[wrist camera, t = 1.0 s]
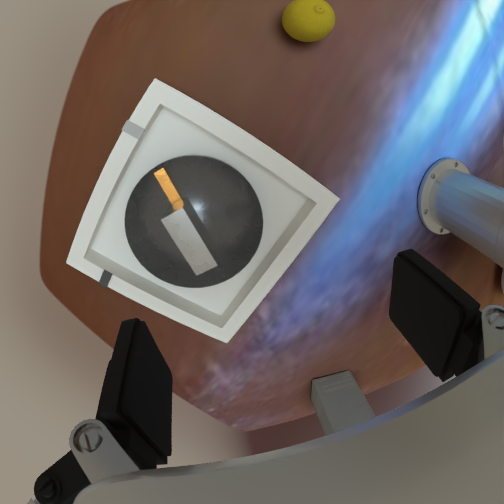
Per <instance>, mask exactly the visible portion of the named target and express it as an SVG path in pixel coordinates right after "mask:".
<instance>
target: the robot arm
mask: <svg viewBox="0 0 504 504" xmlns="http://www.w3.org/2000/svg"><path fill="white" fill-rule="evenodd" d="M418 211H419V215H420V218H421V220H422V223H423V224H424V225H425V227H426V228H428V229H429V230H430V231H432V232H433V233H436V234H447V233H450V232H451V233H452V234H454V235H456V236H457V237H459V238H460V239H462V240H463V241H465V242H466V243H468V244H469V245H471V246H472V247H474V248H475V249H477V250H478V251H480V252H481V253H482V254H484V255H485V256H487V257H488V258H489V259H491V260H492V261H494V262H495V263H496V264H498V265H499V266H501V267H502V268H503V269H504V188H502V187H500V186H498V185H495V184H493V183H490V182H488V181H485V180H483V179H480V178H478V177H475V176H473V175H470V173H469V171H468V169H467V167H466V166H465V165H464V164H463V163H462V162H460V161H458V160H456V159H452V158H444V159H441V160H439V161H437V162H436V163H434V164H433V165H432V166H431V167H430V168H429V170H428V171H427V172H426V174H425V176H424V178H423V180H422V183H421V186H420V189H419V194H418ZM479 308H480V304H479V303H478V302H477V301H476V300H475V299H473V298H472V297H471V296H470V295H469V294H468V293H466V292H465V291H464V290H463V289H462V288H461V287H459V286H458V285H457V284H456V283H455V282H453V281H452V280H451V279H450V278H449V277H447V276H446V275H445V274H444V273H442V272H441V271H440V270H439V269H438V268H436V267H435V266H434V265H432V264H431V263H430V262H429V261H427V260H426V259H425V258H424V257H422V256H421V255H420V254H418V253H417V252H416V251H414V250H413V249H408V250H405V251H402V252H399V253H398V254H397V257H395V259H394V265H393V278H392V289H391V299H390V308H389V316H390V319H391V321H392V322H393V323H394V325H395V326H396V327H397V328H398V329H399V331H400V332H401V333H402V334H403V336H404V337H405V338H406V339H407V341H408V342H409V343H410V344H411V346H412V347H413V348H414V350H415V351H416V352H417V353H418V355H419V356H420V357H421V359H422V360H423V361H424V363H425V364H426V365H427V366H428V368H429V369H430V370H431V372H432V373H433V374H434V375H435V376H437V377H438V376H439V378H440V379H441V380H442V382H444V381H446V380H447V379H449V378H451V377H452V376H453V375H454V374H455V376H456V377H455V378H454V379H452V380H450V381H448V382H447V383H445V384H443V385H441V386H439V387H438V388H436V389H434V390H432V391H430V392H428V393H427V394H425V395H423V396H421V397H419V398H417V399H415V400H413V401H411V402H409V403H407V404H405V405H402V406H400V407H398V408H396V409H394V410H392V411H389V412H387V413H385V414H383V415H380V416H378V417H375V418H373V419H371V420H368V421H366V422H363V423H361V424H358V425H355V426H353V427H350V428H347V429H345V430H342V431H339V432H336V433H333V434H330V435H327V436H324V437H321V438H318V439H315V440H311V441H308V442H304V443H301V444H297V445H294V446H290V447H287V448H283V449H278V450H274V451H270V452H266V453H261V454H257V455H252V456H247V457H242V458H236V459H230V460H224V461H218V462H212V463H204V464H197V465H188V466H179V467H167V468H159V469H156V468H157V465H161V464H167V456H171V451H172V448H171V447H172V445H171V423H172V419H171V417H172V374H171V371H170V369H169V367H168V365H167V363H166V362H165V360H164V358H163V356H162V354H161V352H160V350H159V349H158V347H157V345H156V343H155V341H154V339H153V337H152V335H151V333H150V331H149V329H148V327H147V325H146V323H145V322H144V321H140V320H139V319H138V318H134V319H129V320H124V321H122V323H121V326H120V330H119V333H118V337H117V340H116V344H115V347H114V351H113V355H112V359H111V360H110V361H109V364H108V367H107V371H106V375H105V379H104V383H103V387H102V392H101V396H100V400H99V405H98V410H97V414H96V419H88V420H84V421H82V422H80V423H79V424H77V426H75V428H74V429H73V430H72V432H71V435H70V438H69V445H70V448H71V450H70V451H69V452H68V453H67V454H66V455H65V456H63V457H62V458H61V459H60V460H58V461H57V462H56V463H55V464H53V465H52V466H51V467H50V468H48V469H47V470H46V471H45V472H43V473H42V474H41V475H40V476H39V477H38V478H37V480H36V482H35V486H34V494H35V497H36V499H35V500H33V499H30V501H29V502H28V504H504V307H502V306H498V305H491V306H487V307H486V308H485V309H484V310H483V311H482V312H480V311H479Z"/></svg>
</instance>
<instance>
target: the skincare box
mask: <svg viewBox="0 0 504 504" xmlns="http://www.w3.org/2000/svg"><path fill="white" fill-rule="evenodd" d="M311 400H312V403H313V405H314V408H315V410H316V413H317V415H318V418H319V420H320V422H321V425H322V427H323V430H324V433H325V435H326V436H327V435H330V434H333V433H336V432H339V431H342V430H345V429H347V428H350V427H353V426H355V425H358V424H361V423H363V422H366V421H368V420H371V419H373V418H375V417H376V416H375V415H374V413H373V411H372V410H371V408H370V406H369V404H368V402H367V400H366V398H365V397H364V395H363V393H362V391H361V390H360V388H359V386H358V384H357V382H356V381H355V379H354V377H353V375H352V374H351V372H350V370H347V371H344V372H340V373H337V374H333V375H329V376H325V377H321V378H318V379H313V380H312V391H311Z"/></svg>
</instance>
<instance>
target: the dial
mask: <svg viewBox="0 0 504 504" xmlns="http://www.w3.org/2000/svg"><path fill="white" fill-rule="evenodd" d="M125 232H126V237H127V240H128V244H129V246H130V248H131V250H132V252H133V254H134V255H135V257H136V259H137V260H138V261H139V262H140V264H141V265H142V266H143V267H144V268H145V269H146V270H147V271H148V272H150V273H151V274H152V275H154V276H155V277H157V278H159V279H160V280H162V281H165V282H167V283H169V284H172V285H176V286H180V287H186V288H203V287H209V286H213V285H217V284H220V283H222V282H225V281H227V280H228V279H230V278H232V277H234V276H235V275H236V274H238V273H239V272H240V271H241V270H242V269H244V268H245V267H246V266H247V264H248V263H249V262H250V261H251V259H252V258H253V256H254V255H255V253H256V251H257V249H258V247H259V244H260V241H261V238H262V232H263V214H262V209H261V205H260V202H259V199H258V197H257V194H256V193H255V191H254V189H253V188H252V186H251V184H250V183H249V182H248V180H247V179H246V178H245V177H244V176H243V175H242V174H241V173H240V172H239V171H238V170H237V169H235V168H234V167H233V166H231V165H230V164H228V163H226V162H224V161H222V160H219V159H217V158H214V157H210V156H205V155H183V156H178V157H174V158H171V159H168V160H166V161H164V162H162V163H160V164H158V165H157V166H155V167H154V168H153V169H151V170H150V171H149V172H148V173H147V174H146V175H144V176H143V177H142V178H141V180H140V181H139V182H138V183H137V184H136V186H135V188H134V189H133V191H132V193H131V195H130V197H129V200H128V203H127V206H126V211H125Z"/></svg>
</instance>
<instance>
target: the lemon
mask: <svg viewBox="0 0 504 504" xmlns="http://www.w3.org/2000/svg"><path fill="white" fill-rule="evenodd" d="M282 24H283V27H284V29H285V31H286V32H287V33H288V34H289V35H290V36H291V37H293V38H294V39H296V40H299V41H303V42H314V41H318V40H320V39H322V38H324V37H326V36H327V35H328V34H329V33H330V32H331V30H332V28H333V27H334V24H335V14H334V11H333V9H332V8H331V6H330V5H329V4H328V3H327V2H325V1H324V0H294V1H292V2H290V3H289V4H288V5H287V7H286V8H285V9H284V12H283V14H282Z"/></svg>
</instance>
